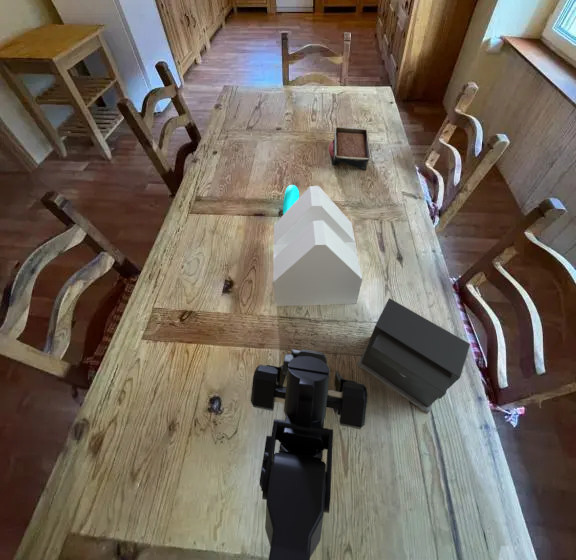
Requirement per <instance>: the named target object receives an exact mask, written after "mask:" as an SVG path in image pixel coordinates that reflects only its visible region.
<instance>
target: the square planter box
mask: <svg viewBox="0 0 576 560" xmlns="http://www.w3.org/2000/svg"><path fill="white" fill-rule="evenodd" d="M333 128H334V129H333V137H334V139H333V140H332V141H331V142H330V143H329V144H328V153H329V156H330V161H331V162H330V163H331V167H335V166H337V165H341V164H344V165H348V166H350V167H353V168H356V169H360V170H363V171H367V166H368V164H369V161H370V160H371V159H372V156H373V155H372V150H371V149H372V148H371V143H370V137H369V131H368V129H366V128H363V127H352V126H335V127H333Z"/></svg>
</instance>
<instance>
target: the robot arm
mask: <svg viewBox="0 0 576 560" xmlns="http://www.w3.org/2000/svg"><path fill="white" fill-rule="evenodd" d="M290 351H291V352H290V353H285V355H284V359H283V361H282V362H283V363H282V364H281V365H280V366H276V365H271V364H266V365H265V364H258V365H257V366H256V367H255V369H254V372H253V376H252V382H251V383H252V385H251V393H250V403H251V405H252V407H253V408H255V409H261V410H265V411H271V412H273V411H274V410H275V403H279V404H283V405H284V407H283V412H284V415H285V419H284V420H283V419H277V418H274V419H273V422H272V429H271V435H266V437H265V442H264V443H265V445H264V450H263V457H262V462H261V463H262V464H261V468H260V469H261V470H260V476H259V483H258V484H259V486H260V489H261V490H260V492H262V494H261V495H262V497H261V498H262V500H265V505H266V506H265V521H264V528H265V533H266V536H267V540H268V544H269V556H268V560H311V558H312V556H313V554H314V552H315V551H316V549H317V547H318V546H319V544H320V542H321V539H322V531H323V523H324V514H325V513H327V514H329V513H330V508H331V494H332V469H333V444H334V443H333V442H334V429H332V428H327V427H325V419H326V416H327V409H333V410H336V415H337V416H339V419H338V425H339V426H343V427H347V428H353V429H356V430H361V429H363V427H365V425H366V416H367V407H368V390H367V389H368V388H367V387H366V385H365V384H364V383H359V382H357V381H355V380H349V379H345V378H344V377H343V376H342V375H341V374H340V373H339V371H337V370H335V371H334V381H333V383H334V390H332V389H329V385H330V384H329V382H330V374H331V373H330V372H331V371H330V369H331V368H330V366H329V364H328V358H327V355H326V354H325V353H324V352H322V351H317V350H311V349H306V348H302V349H300V350H299V349H293V348H291V350H290ZM285 382H286V383H285ZM284 384H285V385H284ZM277 441H278V442H279V446H278V447H279V448H278V452H275V450H276V445H277V444H276V443H277ZM325 450H326V461H324V460H323V453H324V452H323V451H325ZM322 460H323V461H322Z"/></svg>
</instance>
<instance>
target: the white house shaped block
mask: <svg viewBox="0 0 576 560" xmlns="http://www.w3.org/2000/svg"><path fill="white" fill-rule="evenodd" d="M352 223H353V222H352V221H351V220H350V219H349V218H348V217H347V216H346V215H345V214H344V212H343V211H342V210H341V209H340V208H339V207H338V206H337V205H336V203H335V202H334V201H333V200H332V199H331V198H330V197H329V196H328V195H327V193H326V192H325V190H323V188H321V187H320V185H309V187H308V188H307V189H306V190H305V191H303V193H302V194H301V195H299V199H298V200H297V201H296V202H295V203H294V204H293V205H292V206H291V207H290V208H289V209H288V210H287V212H286V213H285V214H284V215H283V214H282V215H281V217H280V218H279V219H278V220H277V221H276V222H275V223H274V224H273V266H272V267H273V269H272V270H273V271H272V272H273V275H272V277H273V278H272V280H273V281H272V284H273V291H274V301H275V307H295V306H297V307H298V306H299V307H300V306H327V305H329V306H331V305H356V304H357V303H358V298H359V294H360V291H361V286H362V282H363V275H362V270H361V265H360V259H359V253H358V249H357V244H356V239H355V234H354V229H353V224H352Z"/></svg>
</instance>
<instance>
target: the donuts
mask: <svg viewBox="0 0 576 560" xmlns="http://www.w3.org/2000/svg"><path fill="white" fill-rule="evenodd" d="M299 198H300V191H299V188H298V187H297V185H294V184H290V185H288V186H287V187H286V189H285V191H284V197H283V202H282V216H283V215H284V214H285V213H286V212H287V210H288V209H289V208H290V207H291V206H292V205H293V204H294V203H295V202H296V201H297V200H298V199H299Z"/></svg>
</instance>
